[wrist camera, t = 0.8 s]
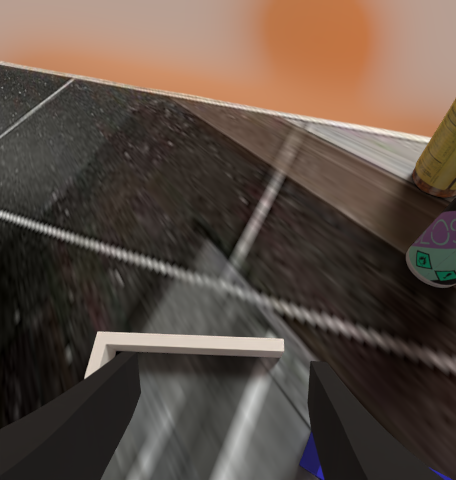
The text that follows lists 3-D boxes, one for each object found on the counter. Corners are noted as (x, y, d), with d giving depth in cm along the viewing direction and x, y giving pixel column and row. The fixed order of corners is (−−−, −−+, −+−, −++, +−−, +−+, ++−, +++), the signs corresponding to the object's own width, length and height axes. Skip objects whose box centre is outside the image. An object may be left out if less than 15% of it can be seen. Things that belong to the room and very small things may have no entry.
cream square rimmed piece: (322, 674, 17) (349, 751, 13) (27, 645, 17) (-37, 709, 13) (296, 346, 26) (306, 331, 22) (108, 339, 27) (86, 323, 23)
